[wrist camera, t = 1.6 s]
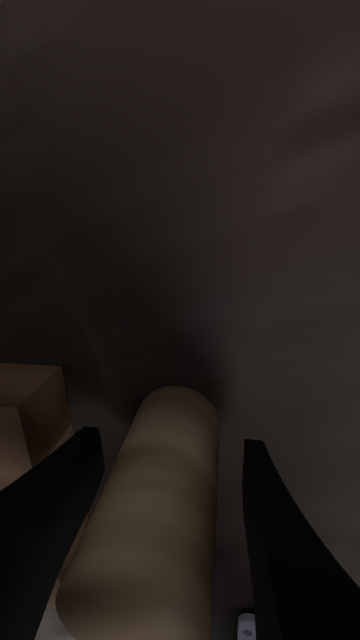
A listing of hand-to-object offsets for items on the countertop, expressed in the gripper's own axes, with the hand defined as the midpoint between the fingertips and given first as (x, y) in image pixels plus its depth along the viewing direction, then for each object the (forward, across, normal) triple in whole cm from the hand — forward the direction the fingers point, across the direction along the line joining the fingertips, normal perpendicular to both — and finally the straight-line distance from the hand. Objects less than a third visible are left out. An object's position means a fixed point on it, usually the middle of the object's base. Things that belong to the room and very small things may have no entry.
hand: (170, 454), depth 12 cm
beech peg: (+2, 0, 0) cm, 2 cm away
